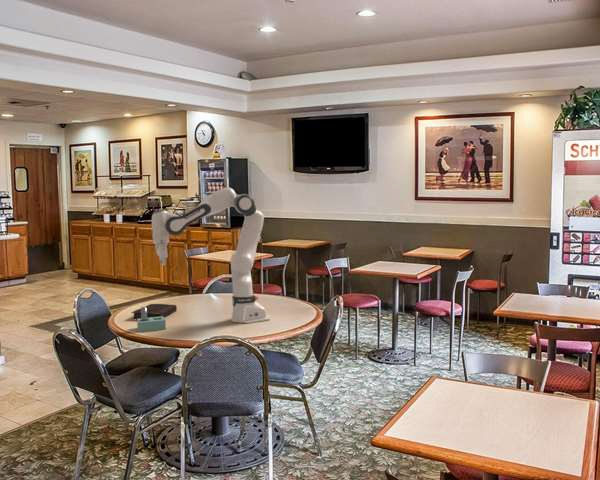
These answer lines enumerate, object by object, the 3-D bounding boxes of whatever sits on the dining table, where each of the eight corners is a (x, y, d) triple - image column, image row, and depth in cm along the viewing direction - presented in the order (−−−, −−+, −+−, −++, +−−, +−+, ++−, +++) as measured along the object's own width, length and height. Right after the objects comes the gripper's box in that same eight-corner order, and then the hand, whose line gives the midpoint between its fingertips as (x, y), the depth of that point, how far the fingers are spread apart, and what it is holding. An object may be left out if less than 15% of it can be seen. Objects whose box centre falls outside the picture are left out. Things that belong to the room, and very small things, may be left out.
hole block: (163, 325, 319) (163, 316, 319) (165, 329, 310) (165, 320, 309) (137, 327, 315) (137, 318, 314) (138, 331, 305) (138, 322, 305)
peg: (147, 328, 313) (146, 306, 312) (147, 329, 310) (146, 307, 309) (141, 328, 312) (140, 307, 311) (142, 330, 309) (141, 308, 308)
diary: (177, 312, 355) (177, 304, 354) (160, 322, 330) (160, 313, 330) (149, 311, 358) (148, 303, 358) (130, 320, 334) (130, 312, 333)
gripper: (169, 241, 309) (171, 266, 310) (164, 238, 328) (166, 261, 329) (157, 241, 306) (159, 267, 308) (153, 238, 326) (154, 262, 327)
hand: (162, 264), depth 319 cm, fingers open, 8 cm apart
